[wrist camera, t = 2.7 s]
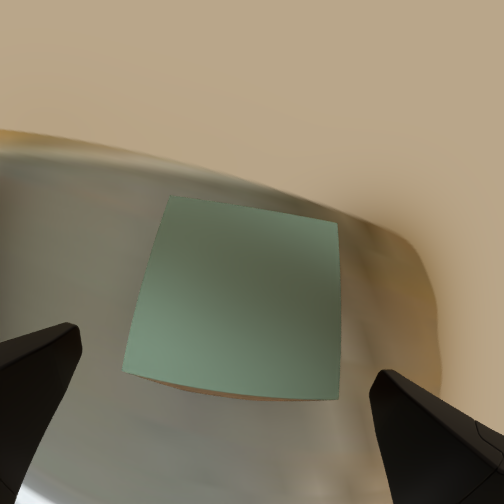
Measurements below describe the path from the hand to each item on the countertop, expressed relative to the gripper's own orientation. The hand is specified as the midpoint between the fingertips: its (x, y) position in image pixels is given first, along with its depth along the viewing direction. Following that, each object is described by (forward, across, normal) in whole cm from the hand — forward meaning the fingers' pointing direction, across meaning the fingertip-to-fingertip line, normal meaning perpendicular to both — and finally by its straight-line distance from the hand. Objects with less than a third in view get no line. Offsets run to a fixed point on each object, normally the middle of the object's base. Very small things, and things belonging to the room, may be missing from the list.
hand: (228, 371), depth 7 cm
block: (+7, 0, +6) cm, 9 cm away
